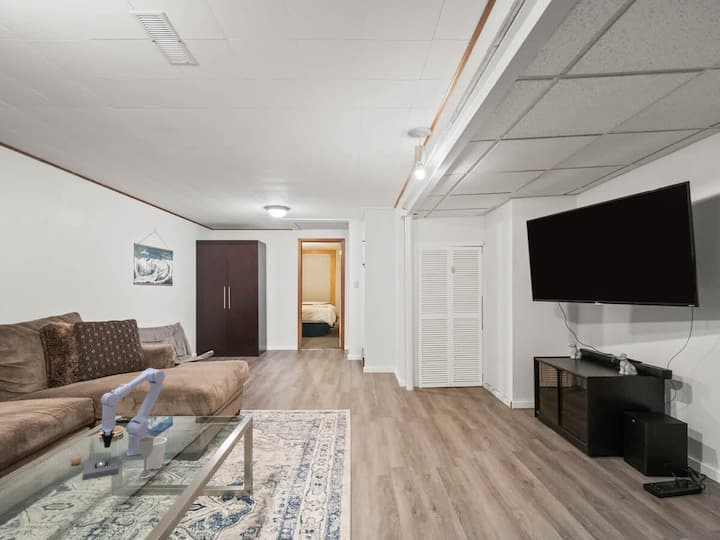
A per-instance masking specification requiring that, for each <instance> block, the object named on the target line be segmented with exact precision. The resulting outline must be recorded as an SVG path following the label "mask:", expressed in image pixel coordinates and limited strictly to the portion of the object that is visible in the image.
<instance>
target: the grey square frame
mask: <svg viewBox="0 0 720 540" xmlns="http://www.w3.org/2000/svg"><path fill="white" fill-rule="evenodd" d="M99 462H105V463H106V466H107V467H101V468H96V465H97V464H98V463H99ZM83 466H84V467H83V472H82V480H83V479H85V480H89V479H88V478H91V479H94V478H95V479H96V478H101V477H106V476H113V475H117V474H119V456H112V457H105V458H100V459H94V460H88V461H85V462H84V465H83Z"/></svg>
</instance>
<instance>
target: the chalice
mask: <svg viewBox="0 0 720 540" xmlns="http://www.w3.org/2000/svg"><path fill="white" fill-rule="evenodd" d="M154 438H155V436H153V435H148V436H142V437H140V438H139V439H138V440H139V452H140V454H139V455H140V456H141V458H142V459H144V461H143V465H142V467H143V470H142V471H141V472H140V473H139V476H140V477H146V476H148V475H149V474H150V475H151V473H150V470H149V469H147V468H148V463H147V458H148V457H149V456H150V454H151V452H152V449H153V440H154Z"/></svg>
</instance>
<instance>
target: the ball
mask: <svg viewBox="0 0 720 540" xmlns="http://www.w3.org/2000/svg"><path fill="white" fill-rule="evenodd" d="M70 461H71V464H72V465H74V466H75V465H78V464H79V463H81V461H82V457H81V456H80V455H75V456H73V457H72V458H71V460H70Z"/></svg>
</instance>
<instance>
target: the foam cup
mask: <svg viewBox="0 0 720 540" xmlns="http://www.w3.org/2000/svg"><path fill="white" fill-rule="evenodd" d="M154 437H155V436H154ZM167 444H168V439H167V438H166V437H164V436H158V437H157V436H156V437H155V438H154V440H153V449H152V452H151V454H150V456H149V457H148V458H147V459H146V460H147V463H146V464H147V469H148V468H149V469H148V470H150V469H155V468H158V467H160V466H162V467H163V465H164V463H163V462H164V459H165V454H166V453H165V452H166V447H167ZM162 464H163V465H162Z"/></svg>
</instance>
